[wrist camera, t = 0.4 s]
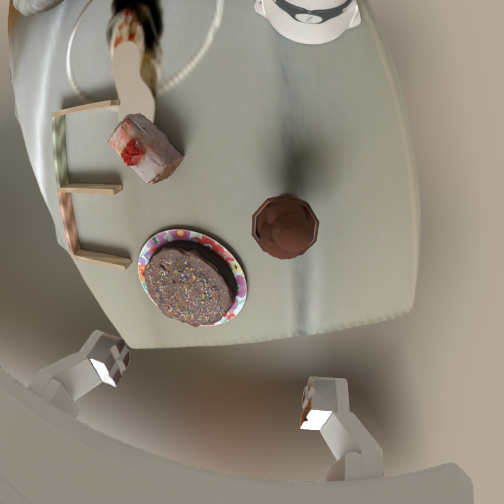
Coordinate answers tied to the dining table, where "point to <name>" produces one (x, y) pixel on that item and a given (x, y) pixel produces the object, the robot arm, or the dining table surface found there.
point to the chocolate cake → (192, 277)
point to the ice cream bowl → (285, 226)
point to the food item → (145, 148)
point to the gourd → (34, 6)
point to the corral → (79, 190)
